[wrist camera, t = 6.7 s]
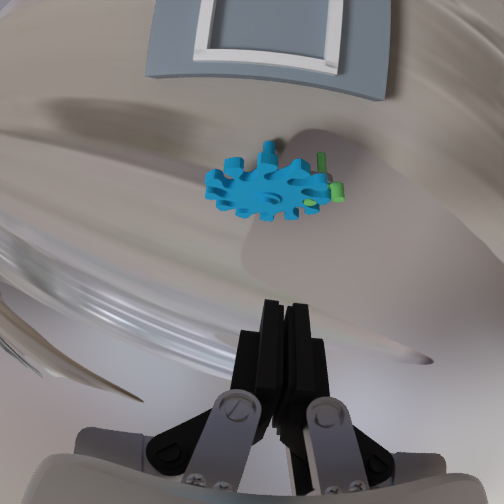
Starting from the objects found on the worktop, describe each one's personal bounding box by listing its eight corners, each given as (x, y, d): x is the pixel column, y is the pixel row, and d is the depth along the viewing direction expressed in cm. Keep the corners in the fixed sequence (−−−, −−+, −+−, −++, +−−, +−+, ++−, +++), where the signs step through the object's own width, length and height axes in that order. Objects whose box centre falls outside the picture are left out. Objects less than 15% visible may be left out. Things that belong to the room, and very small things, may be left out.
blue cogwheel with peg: (214, 224, 26) (187, 170, 17) (220, 171, 28) (202, 105, 18) (329, 230, 26) (362, 179, 16) (327, 176, 27) (351, 112, 18)
